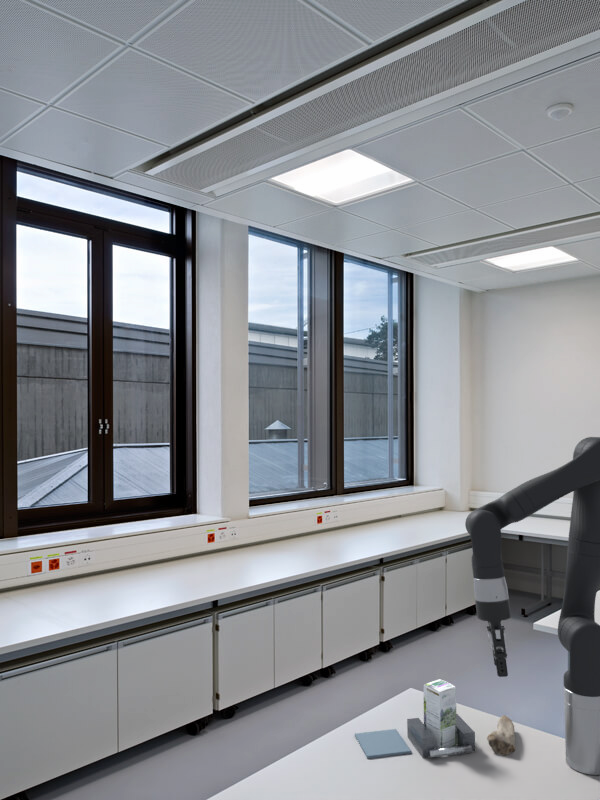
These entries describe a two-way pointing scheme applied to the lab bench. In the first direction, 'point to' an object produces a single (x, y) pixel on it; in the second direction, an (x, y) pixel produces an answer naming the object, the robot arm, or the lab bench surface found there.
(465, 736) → the vise
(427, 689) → the syrup box
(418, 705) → the lab bench surface
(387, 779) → the lab bench surface
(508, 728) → the bone fragment
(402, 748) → the mat
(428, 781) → the lab bench surface
